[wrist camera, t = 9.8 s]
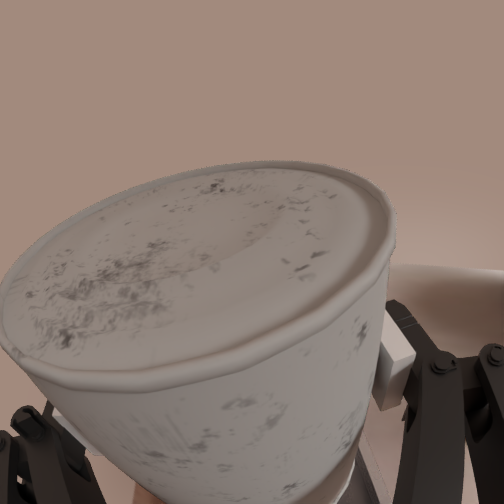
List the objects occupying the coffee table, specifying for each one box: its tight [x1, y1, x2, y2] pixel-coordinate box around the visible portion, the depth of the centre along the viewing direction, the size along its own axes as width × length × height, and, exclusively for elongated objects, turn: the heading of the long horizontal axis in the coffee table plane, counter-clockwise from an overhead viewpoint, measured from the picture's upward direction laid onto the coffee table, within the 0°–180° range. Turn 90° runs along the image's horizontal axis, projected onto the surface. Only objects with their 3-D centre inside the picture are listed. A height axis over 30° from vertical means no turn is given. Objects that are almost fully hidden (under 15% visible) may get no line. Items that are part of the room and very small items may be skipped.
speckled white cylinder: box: [0, 161, 397, 504], centre depth 10 cm, size 10×10×12 cm
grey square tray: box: [337, 430, 392, 504], centre depth 18 cm, size 15×15×3 cm
